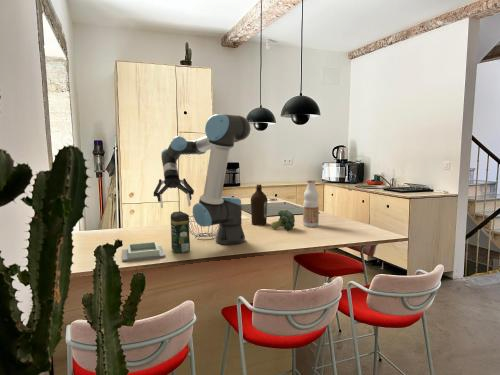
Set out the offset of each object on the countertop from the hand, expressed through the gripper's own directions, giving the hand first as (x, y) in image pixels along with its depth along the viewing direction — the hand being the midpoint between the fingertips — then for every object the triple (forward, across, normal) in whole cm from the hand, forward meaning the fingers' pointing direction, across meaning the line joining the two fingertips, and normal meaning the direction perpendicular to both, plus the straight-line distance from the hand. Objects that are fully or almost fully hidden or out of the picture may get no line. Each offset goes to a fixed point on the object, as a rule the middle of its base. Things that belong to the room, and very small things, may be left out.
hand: (175, 205), depth 176 cm
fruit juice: (+4, -84, -24) cm, 88 cm away
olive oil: (-7, -56, -36) cm, 67 cm away
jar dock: (+22, +17, -6) cm, 28 cm away
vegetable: (+6, -64, -22) cm, 68 cm away
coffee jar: (+22, 0, -6) cm, 23 cm away
